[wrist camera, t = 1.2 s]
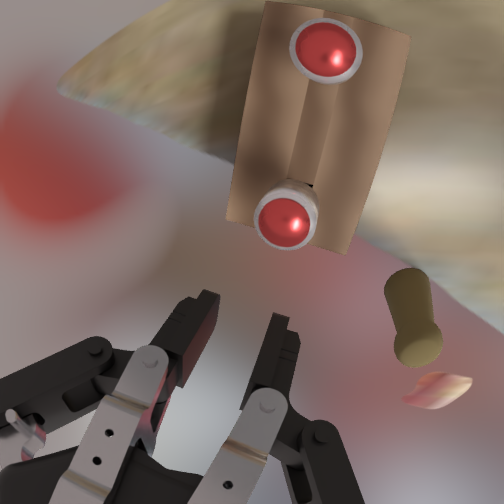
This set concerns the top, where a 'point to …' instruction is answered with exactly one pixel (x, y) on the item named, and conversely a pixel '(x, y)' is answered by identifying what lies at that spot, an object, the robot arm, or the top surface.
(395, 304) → the cork
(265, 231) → the knob
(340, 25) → the knob
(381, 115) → the console
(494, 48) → the top surface
